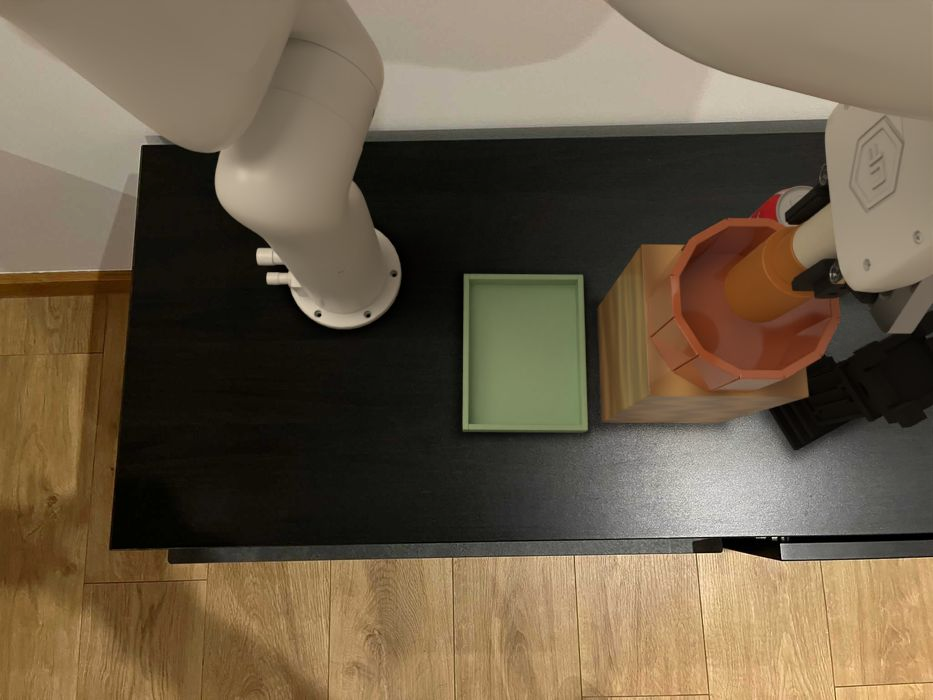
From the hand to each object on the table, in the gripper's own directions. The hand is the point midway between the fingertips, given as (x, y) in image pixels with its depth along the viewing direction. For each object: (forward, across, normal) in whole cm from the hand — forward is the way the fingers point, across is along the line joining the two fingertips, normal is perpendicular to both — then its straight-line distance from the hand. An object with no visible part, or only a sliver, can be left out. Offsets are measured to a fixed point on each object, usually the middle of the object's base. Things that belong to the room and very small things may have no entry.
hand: (813, 251), depth 42 cm
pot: (+16, 0, 0) cm, 16 cm away
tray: (+36, -1, -14) cm, 39 cm away
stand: (+36, 0, +1) cm, 36 cm away
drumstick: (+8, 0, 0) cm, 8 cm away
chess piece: (+36, +4, +16) cm, 40 cm away
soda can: (+36, -13, +13) cm, 40 cm away
